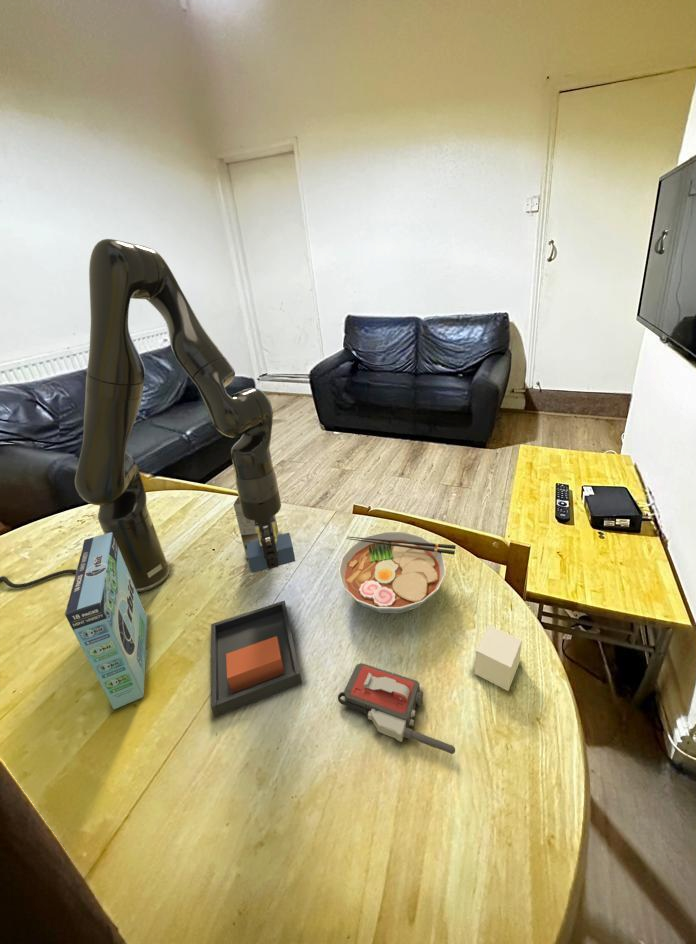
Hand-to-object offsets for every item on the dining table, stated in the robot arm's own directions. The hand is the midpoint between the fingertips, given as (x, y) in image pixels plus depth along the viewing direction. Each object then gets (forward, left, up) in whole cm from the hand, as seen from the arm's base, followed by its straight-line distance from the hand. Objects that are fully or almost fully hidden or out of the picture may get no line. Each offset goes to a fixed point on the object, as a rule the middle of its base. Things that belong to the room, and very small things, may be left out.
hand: (272, 558), depth 87 cm
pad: (-6, -18, -10) cm, 21 cm away
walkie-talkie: (+14, -34, -10) cm, 38 cm away
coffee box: (-2, +18, -10) cm, 21 cm away
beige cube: (+33, -34, -10) cm, 49 cm away
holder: (-7, -14, -10) cm, 18 cm away
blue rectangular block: (0, 0, 0) cm, 0 cm away
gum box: (-29, -5, -10) cm, 31 cm away
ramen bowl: (+23, -10, -10) cm, 27 cm away
